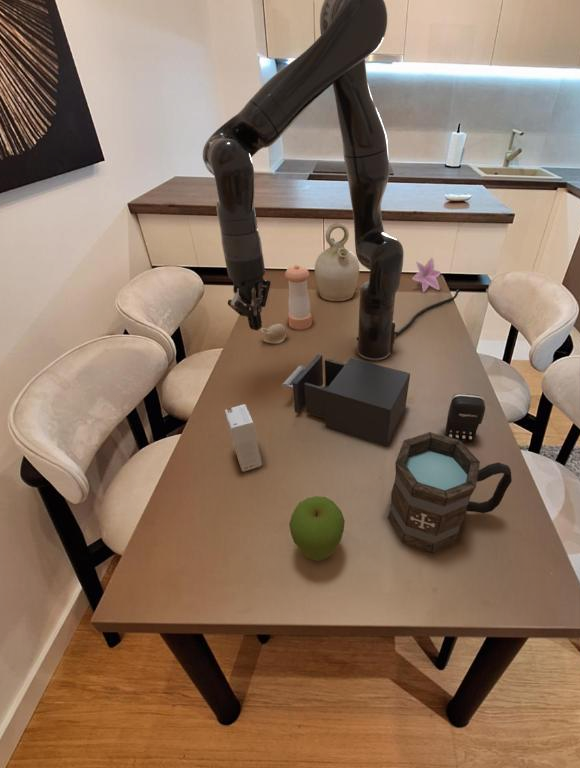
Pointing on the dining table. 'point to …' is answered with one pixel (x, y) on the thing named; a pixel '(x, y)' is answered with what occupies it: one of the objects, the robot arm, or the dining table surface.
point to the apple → (317, 527)
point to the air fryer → (366, 401)
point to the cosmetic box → (243, 437)
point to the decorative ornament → (274, 334)
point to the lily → (427, 275)
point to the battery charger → (464, 417)
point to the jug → (336, 268)
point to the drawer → (312, 385)
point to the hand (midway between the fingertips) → (256, 328)
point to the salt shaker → (298, 298)
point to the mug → (438, 490)
